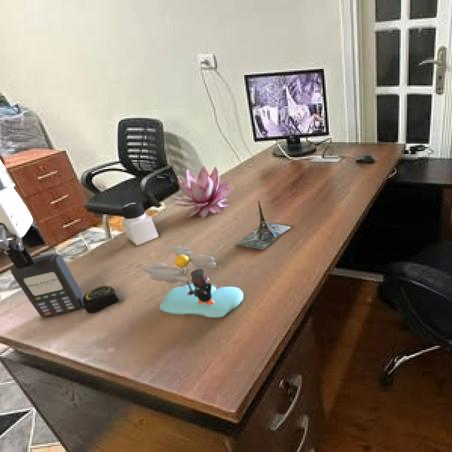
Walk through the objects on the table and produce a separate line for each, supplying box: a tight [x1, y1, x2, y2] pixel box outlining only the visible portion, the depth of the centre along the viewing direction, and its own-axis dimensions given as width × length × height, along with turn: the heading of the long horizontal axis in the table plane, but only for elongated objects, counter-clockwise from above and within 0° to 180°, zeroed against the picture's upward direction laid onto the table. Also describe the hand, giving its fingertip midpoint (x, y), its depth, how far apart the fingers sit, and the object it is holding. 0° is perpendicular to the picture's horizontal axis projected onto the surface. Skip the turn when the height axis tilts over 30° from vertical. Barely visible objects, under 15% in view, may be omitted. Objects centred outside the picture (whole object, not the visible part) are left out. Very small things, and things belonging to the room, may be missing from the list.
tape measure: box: [83, 285, 120, 315], centre depth 86 cm, size 7×7×4 cm
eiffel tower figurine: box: [236, 199, 292, 250], centre depth 106 cm, size 15×10×13 cm
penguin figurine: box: [142, 245, 244, 319], centre depth 80 cm, size 20×11×15 cm, turn 75°
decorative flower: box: [170, 165, 235, 220], centre depth 125 cm, size 21×21×15 cm
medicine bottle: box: [120, 202, 159, 247], centre depth 112 cm, size 7×7×12 cm
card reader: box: [10, 253, 85, 319], centre depth 82 cm, size 9×4×15 cm, turn 109°
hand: (32, 255), depth 78 cm, fingers open, 9 cm apart
